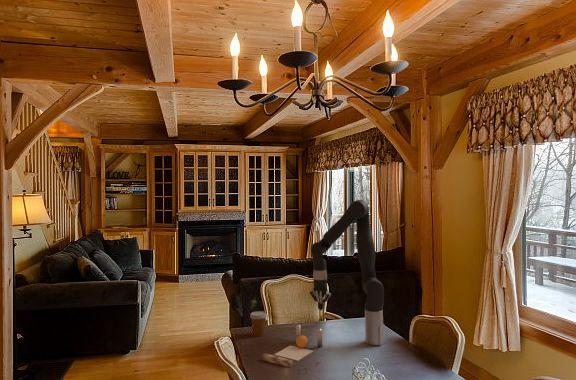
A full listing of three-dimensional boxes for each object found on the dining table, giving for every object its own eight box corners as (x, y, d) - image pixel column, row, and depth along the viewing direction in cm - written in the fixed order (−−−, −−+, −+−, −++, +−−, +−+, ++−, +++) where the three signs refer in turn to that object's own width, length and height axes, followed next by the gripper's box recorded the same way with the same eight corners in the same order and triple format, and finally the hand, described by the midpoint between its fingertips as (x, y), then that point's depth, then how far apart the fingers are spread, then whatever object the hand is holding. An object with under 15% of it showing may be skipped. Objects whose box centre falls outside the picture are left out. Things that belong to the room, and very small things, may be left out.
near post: (323, 346, 210) (322, 328, 210) (320, 347, 208) (320, 330, 208) (318, 345, 212) (318, 327, 212) (316, 346, 210) (315, 329, 210)
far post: (301, 341, 218) (301, 324, 218) (299, 343, 215) (298, 326, 216) (297, 340, 219) (297, 323, 219) (295, 342, 217) (294, 325, 217)
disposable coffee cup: (268, 332, 234) (267, 311, 235) (265, 337, 225) (265, 315, 225) (252, 331, 235) (251, 310, 236) (248, 337, 226) (248, 315, 226)
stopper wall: (292, 365, 187) (292, 360, 187) (290, 367, 185) (290, 361, 185) (265, 358, 196) (265, 353, 196) (262, 359, 194) (262, 354, 194)
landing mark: (313, 351, 204) (313, 350, 204) (298, 360, 192) (298, 360, 192) (290, 345, 212) (290, 345, 212) (274, 354, 200) (274, 354, 200)
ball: (311, 342, 211) (307, 333, 209) (306, 350, 206) (302, 340, 205) (301, 342, 214) (297, 332, 213) (296, 349, 209) (292, 340, 208)
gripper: (306, 278, 225) (307, 309, 225) (327, 280, 218) (328, 313, 218) (313, 275, 232) (314, 306, 231) (334, 277, 224) (334, 309, 224)
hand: (320, 309), depth 225 cm, fingers closed
